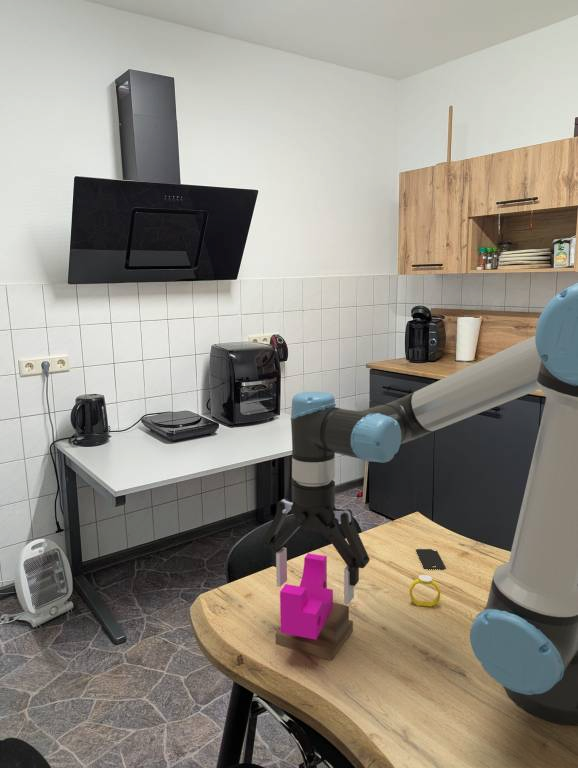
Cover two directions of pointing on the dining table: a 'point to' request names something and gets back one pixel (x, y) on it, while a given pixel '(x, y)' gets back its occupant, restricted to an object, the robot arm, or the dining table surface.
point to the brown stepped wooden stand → (322, 635)
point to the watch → (425, 580)
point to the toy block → (307, 600)
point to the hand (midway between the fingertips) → (314, 591)
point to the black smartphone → (430, 559)
